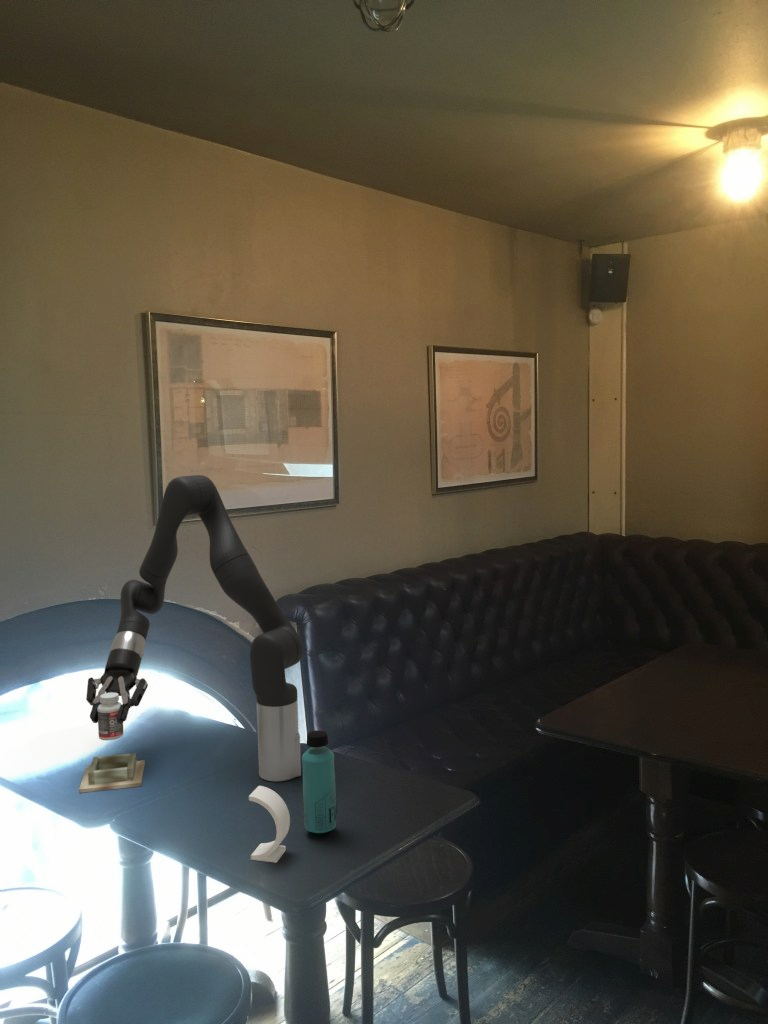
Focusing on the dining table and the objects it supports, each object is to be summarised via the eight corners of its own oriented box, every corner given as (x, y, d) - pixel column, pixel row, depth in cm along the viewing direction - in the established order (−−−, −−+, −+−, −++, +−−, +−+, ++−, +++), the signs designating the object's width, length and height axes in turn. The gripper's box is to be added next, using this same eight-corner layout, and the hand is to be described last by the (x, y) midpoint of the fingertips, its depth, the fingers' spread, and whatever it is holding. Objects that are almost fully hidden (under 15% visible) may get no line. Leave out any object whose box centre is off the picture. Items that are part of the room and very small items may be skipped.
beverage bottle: (332, 842, 153) (329, 740, 151) (298, 839, 154) (295, 738, 152) (341, 826, 159) (338, 727, 157) (308, 823, 160) (306, 725, 159)
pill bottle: (114, 742, 180) (111, 699, 179) (93, 740, 182) (91, 697, 181) (128, 733, 185) (126, 692, 184) (108, 731, 187) (106, 690, 186)
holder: (144, 763, 192) (144, 749, 192) (141, 786, 179) (140, 770, 179) (87, 769, 189) (86, 754, 189) (79, 792, 177) (78, 777, 176)
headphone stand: (260, 847, 152) (258, 785, 150) (291, 850, 150) (289, 788, 149) (250, 859, 147) (248, 796, 146) (281, 863, 146) (279, 799, 145)
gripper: (91, 646, 190) (69, 714, 179) (150, 647, 188) (132, 715, 178) (102, 662, 196) (82, 728, 185) (159, 663, 194) (142, 729, 184)
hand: (107, 721), depth 181 cm, fingers closed on pill bottle, 5 cm apart
